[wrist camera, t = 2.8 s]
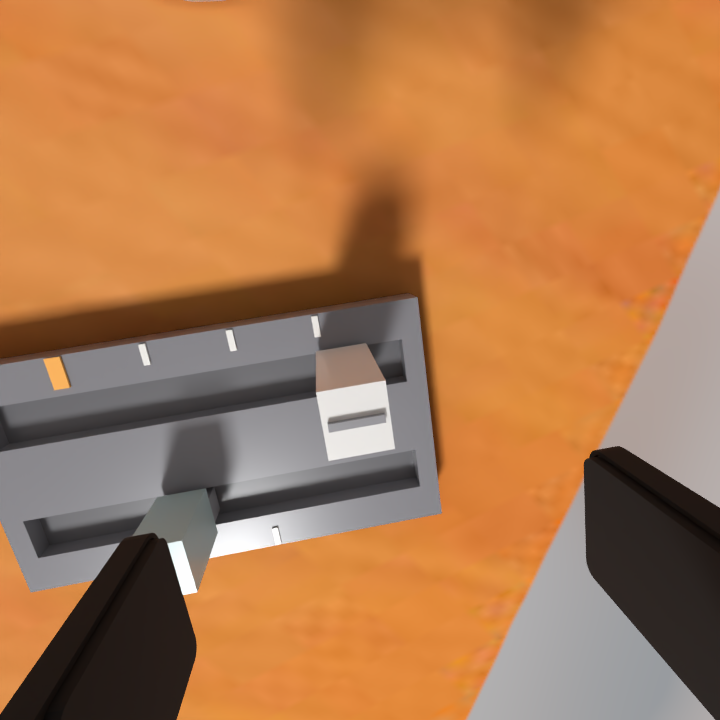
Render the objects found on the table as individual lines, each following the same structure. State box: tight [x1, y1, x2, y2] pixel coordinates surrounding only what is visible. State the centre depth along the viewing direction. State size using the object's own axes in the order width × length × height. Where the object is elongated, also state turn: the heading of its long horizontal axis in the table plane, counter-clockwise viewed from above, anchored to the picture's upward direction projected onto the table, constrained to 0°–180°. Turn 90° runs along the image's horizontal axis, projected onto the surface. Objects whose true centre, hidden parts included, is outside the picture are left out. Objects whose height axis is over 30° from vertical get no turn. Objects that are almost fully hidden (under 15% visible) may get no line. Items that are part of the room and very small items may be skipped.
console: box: [0, 293, 442, 592], centre depth 22 cm, size 22×12×2 cm, turn 98°
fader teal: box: [133, 487, 220, 595], centre depth 20 cm, size 2×3×5 cm
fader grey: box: [316, 343, 395, 461], centre depth 18 cm, size 2×3×7 cm
